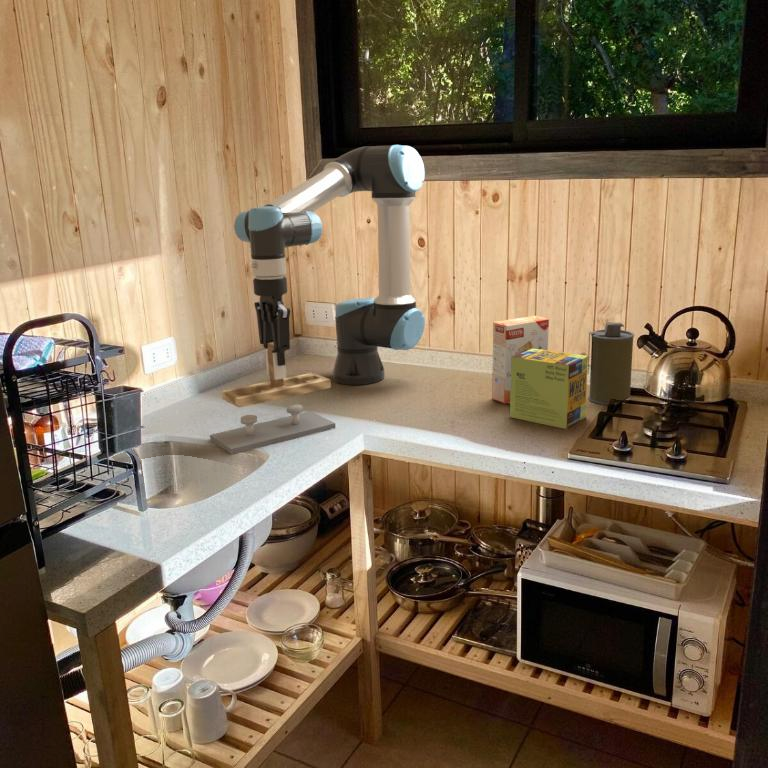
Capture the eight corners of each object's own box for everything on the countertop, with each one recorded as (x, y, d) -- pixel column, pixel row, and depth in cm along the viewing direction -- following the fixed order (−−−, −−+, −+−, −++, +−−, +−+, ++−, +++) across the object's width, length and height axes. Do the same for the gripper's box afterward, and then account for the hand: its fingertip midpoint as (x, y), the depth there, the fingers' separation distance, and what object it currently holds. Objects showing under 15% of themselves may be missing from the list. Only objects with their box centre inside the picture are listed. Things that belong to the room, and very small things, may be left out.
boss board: (310, 415, 201) (309, 395, 200) (335, 427, 192) (334, 406, 190) (210, 439, 187) (208, 417, 185) (231, 454, 177) (229, 431, 176)
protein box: (567, 429, 185) (569, 365, 181) (509, 417, 195) (509, 356, 190) (586, 417, 193) (589, 355, 189) (530, 406, 203) (531, 347, 198)
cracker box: (505, 405, 204) (506, 325, 198) (491, 399, 209) (491, 321, 203) (547, 395, 211) (549, 318, 205) (533, 390, 216) (534, 314, 210)
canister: (627, 393, 210) (631, 319, 204) (633, 405, 200) (637, 328, 194) (584, 393, 212) (587, 319, 206) (589, 405, 202) (592, 328, 196)
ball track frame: (313, 380, 197) (310, 332, 194) (330, 387, 191) (328, 338, 187) (222, 398, 185) (218, 348, 181) (238, 407, 178) (233, 355, 174)
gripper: (239, 274, 184) (247, 372, 191) (270, 282, 172) (278, 387, 178) (268, 271, 188) (275, 367, 195) (301, 278, 176) (307, 381, 182)
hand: (276, 376), depth 186 cm, fingers closed on ball track frame, 3 cm apart
